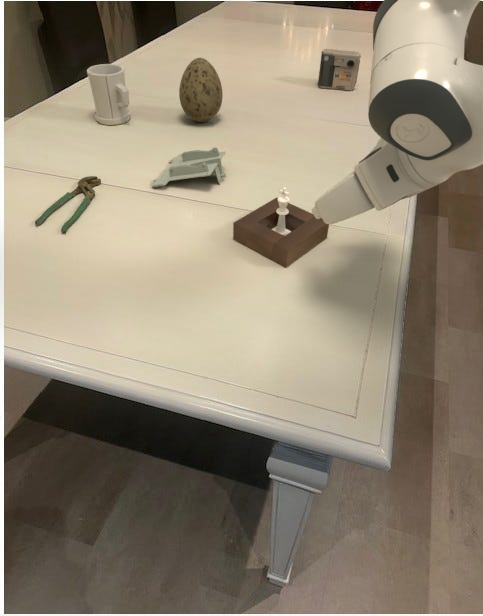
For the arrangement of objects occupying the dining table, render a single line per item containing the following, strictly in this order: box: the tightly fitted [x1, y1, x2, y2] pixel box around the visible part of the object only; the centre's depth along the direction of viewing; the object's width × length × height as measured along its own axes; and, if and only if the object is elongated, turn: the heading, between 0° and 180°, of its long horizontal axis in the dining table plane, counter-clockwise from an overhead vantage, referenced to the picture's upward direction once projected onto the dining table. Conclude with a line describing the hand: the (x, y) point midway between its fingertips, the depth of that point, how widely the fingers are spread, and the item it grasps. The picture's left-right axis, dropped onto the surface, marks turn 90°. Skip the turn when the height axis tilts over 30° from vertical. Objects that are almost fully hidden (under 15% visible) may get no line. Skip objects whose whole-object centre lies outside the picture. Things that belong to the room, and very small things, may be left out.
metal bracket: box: [151, 146, 227, 188], centre depth 102 cm, size 14×6×15 cm
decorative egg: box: [178, 57, 224, 123], centre depth 120 cm, size 11×11×15 cm
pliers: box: [34, 175, 102, 234], centre depth 93 cm, size 20×6×1 cm, turn 165°
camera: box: [317, 48, 362, 92], centre depth 142 cm, size 11×6×10 cm, turn 73°
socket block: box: [232, 196, 330, 268], centre depth 85 cm, size 12×12×4 cm
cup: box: [86, 63, 131, 126], centre depth 120 cm, size 10×9×12 cm
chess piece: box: [272, 187, 291, 236], centre depth 83 cm, size 5×5×10 cm
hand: (334, 200), depth 74 cm, fingers open, 8 cm apart
